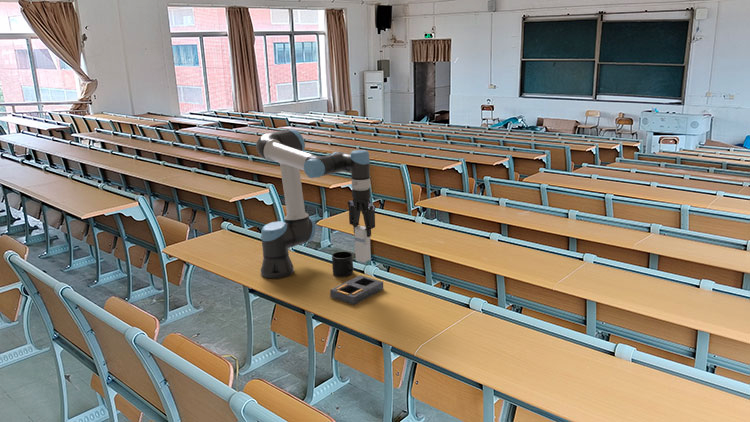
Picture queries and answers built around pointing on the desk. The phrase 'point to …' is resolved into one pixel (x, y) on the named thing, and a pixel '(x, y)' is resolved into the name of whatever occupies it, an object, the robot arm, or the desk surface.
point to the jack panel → (356, 289)
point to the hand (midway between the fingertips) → (362, 242)
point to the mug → (342, 264)
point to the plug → (361, 245)
